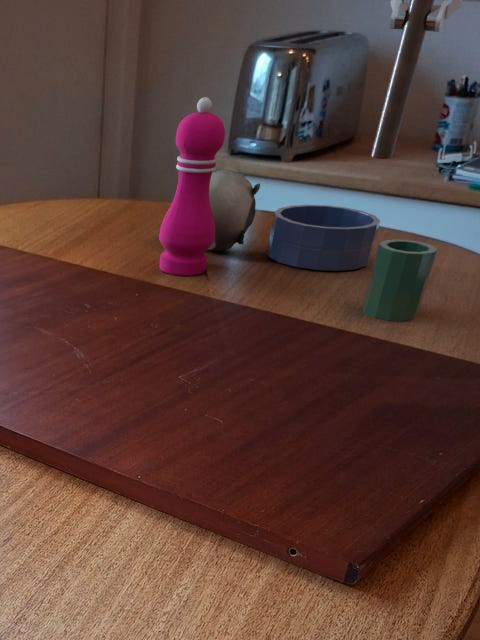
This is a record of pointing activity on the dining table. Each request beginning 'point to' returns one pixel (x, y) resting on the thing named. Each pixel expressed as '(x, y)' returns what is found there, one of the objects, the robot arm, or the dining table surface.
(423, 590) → the dining table surface
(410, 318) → the holder
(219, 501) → the dining table surface
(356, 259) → the bowl
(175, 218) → the pepper mill
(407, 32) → the stick
